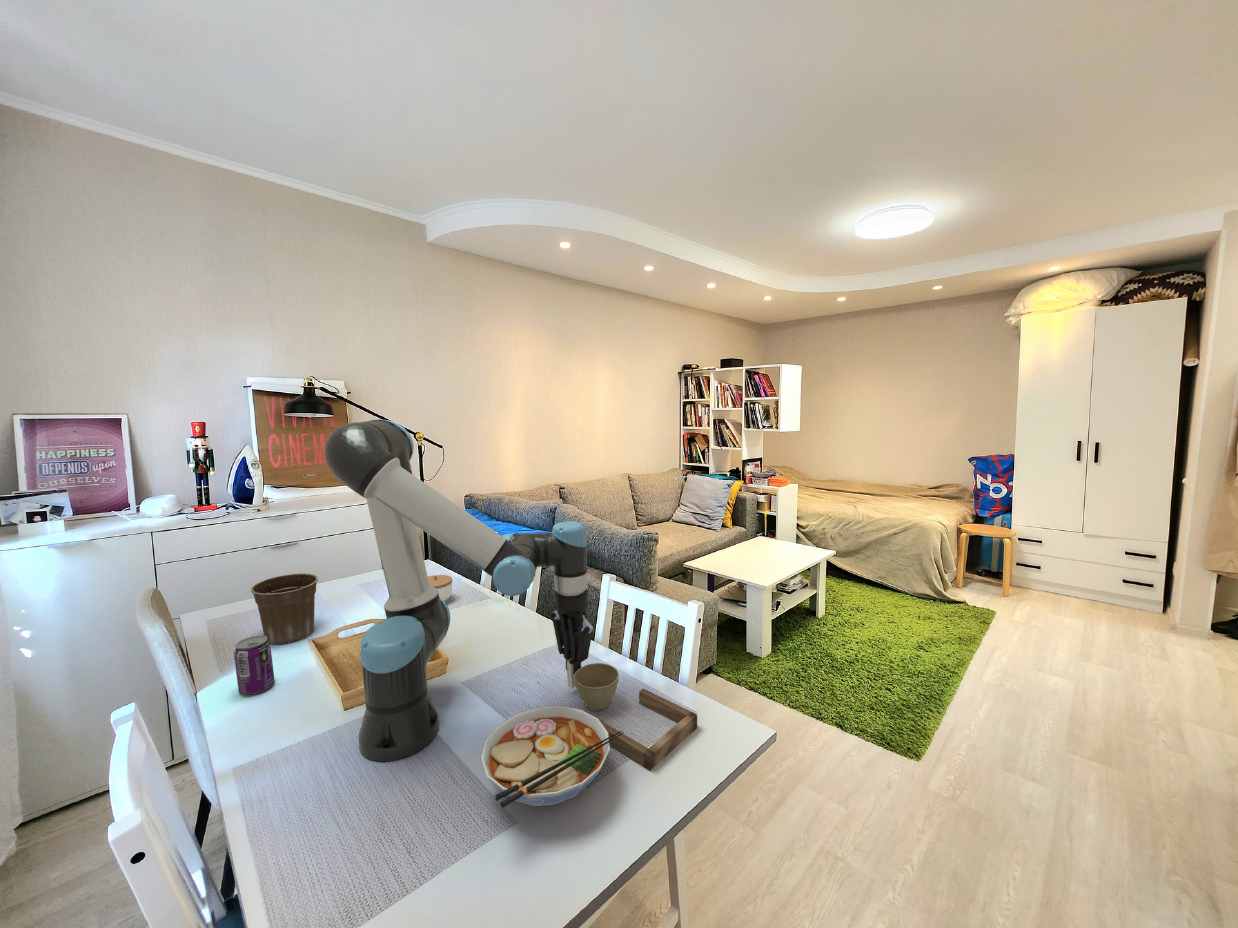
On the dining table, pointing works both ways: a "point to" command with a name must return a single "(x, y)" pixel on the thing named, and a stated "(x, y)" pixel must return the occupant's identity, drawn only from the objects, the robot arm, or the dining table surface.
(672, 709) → the walnut bay
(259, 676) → the beverage can
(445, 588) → the lidded jar
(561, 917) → the dining table surface
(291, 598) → the plant pot
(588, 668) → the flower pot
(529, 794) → the ramen bowl
